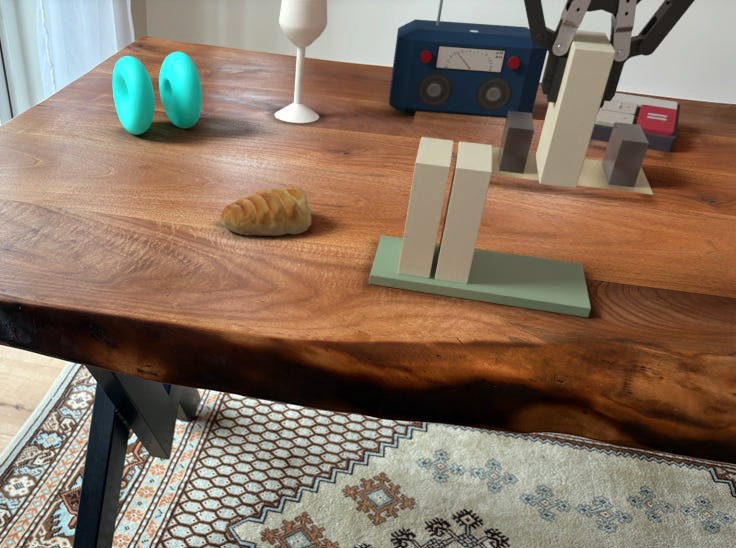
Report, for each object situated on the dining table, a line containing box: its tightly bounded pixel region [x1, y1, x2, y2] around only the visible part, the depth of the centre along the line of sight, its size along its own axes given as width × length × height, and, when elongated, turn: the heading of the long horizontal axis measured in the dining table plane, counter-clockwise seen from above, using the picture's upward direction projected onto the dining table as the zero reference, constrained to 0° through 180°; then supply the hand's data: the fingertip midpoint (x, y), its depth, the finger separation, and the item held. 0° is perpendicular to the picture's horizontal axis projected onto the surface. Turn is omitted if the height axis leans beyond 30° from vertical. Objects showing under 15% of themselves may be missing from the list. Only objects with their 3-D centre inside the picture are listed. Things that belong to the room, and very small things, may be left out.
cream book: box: [535, 29, 616, 189], centre depth 64 cm, size 3×7×11 cm, turn 166°
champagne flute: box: [274, 0, 328, 124], centre depth 107 cm, size 7×7×24 cm
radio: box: [388, 0, 548, 119], centre depth 112 cm, size 21×9×20 cm, turn 82°
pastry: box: [220, 185, 312, 237], centre depth 82 cm, size 9×7×4 cm
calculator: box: [590, 92, 681, 153], centre depth 111 cm, size 11×4×15 cm
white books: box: [368, 136, 592, 318], centre depth 72 cm, size 20×9×12 cm, turn 76°
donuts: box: [112, 51, 203, 136], centre depth 104 cm, size 10×10×10 cm
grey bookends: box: [491, 111, 654, 195], centre depth 96 cm, size 20×10×6 cm, turn 76°
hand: (574, 101), depth 64 cm, fingers closed on cream book, 3 cm apart
